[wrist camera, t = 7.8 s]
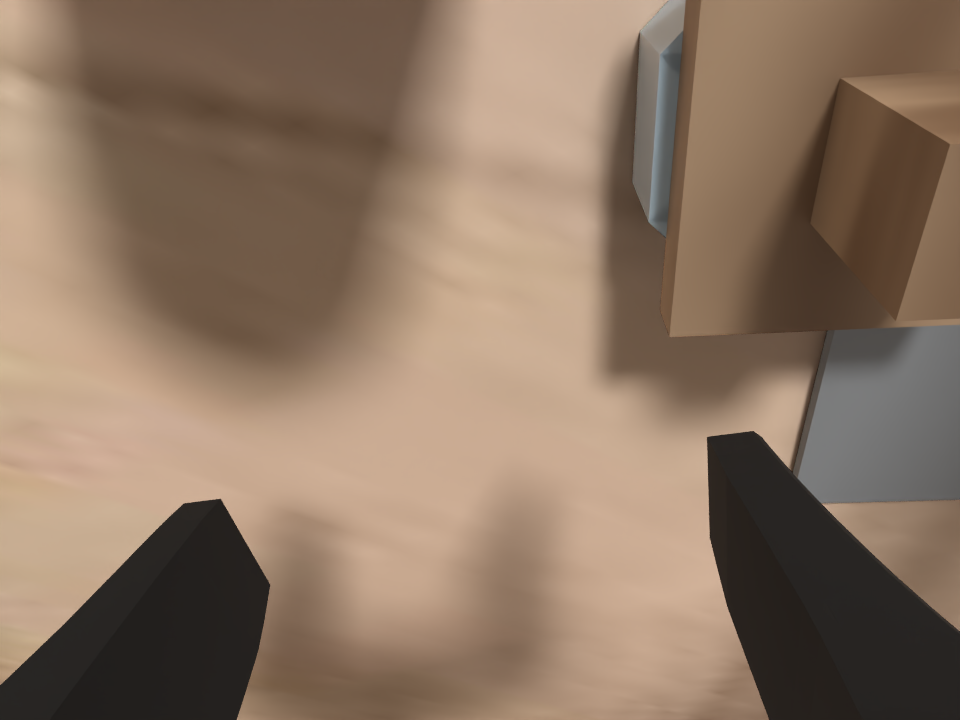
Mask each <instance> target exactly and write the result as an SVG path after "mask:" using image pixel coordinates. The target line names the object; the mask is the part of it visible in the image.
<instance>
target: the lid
mask: <svg viewBox="0 0 960 720" xmlns="http://www.w3.org/2000/svg"><path fill="white" fill-rule="evenodd" d="M660 312H661V315H662V317H663V320H664V323H665V326H666V329H667V332H668V335H669V337H686V336H709V335H733V334H756V333H779V332H802V331H826V330H849V329H872V328H895V327H919V326H942V325H960V0H686V3H685V15H684V27H683V39H682V51H681V63H680V75H679V87H678V99H677V111H676V123H675V135H674V148H673V160H672V172H671V184H670V196H669V208H668V220H667V232H666V244H665V256H664V268H663V280H662V292H661V304H660Z"/></svg>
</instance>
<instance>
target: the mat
mask: <svg viewBox="0 0 960 720" xmlns="http://www.w3.org/2000/svg"><path fill="white" fill-rule="evenodd" d="M793 474H794V475H795V476H796V477H797V478H798V479H799V480H800V482H801V483H802V484H803V485H804V486H805V487H806V488H807V489H808V490H809V491H810V492H811V493H812V494H813V495H814V496H815V497H816V499H817V500H818V501H819V502H820V503H849V502H887V501H925V500H960V325H942V326H919V327H895V328H872V329H849V330H827V334H826V338H825V342H824V347H823V351H822V355H821V359H820V363H819V367H818V371H817V375H816V379H815V383H814V388H813V392H812V396H811V400H810V404H809V408H808V412H807V416H806V420H805V424H804V428H803V433H802V437H801V441H800V445H799V449H798V453H797V457H796V461H795V465H794V469H793Z"/></svg>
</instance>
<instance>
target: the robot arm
mask: <svg viewBox="0 0 960 720" xmlns="http://www.w3.org/2000/svg"><path fill="white" fill-rule="evenodd" d="M707 450H708V486H709V522H710V540H711V544H712V548H713V552H714V556H715V560H716V564H717V568H718V572H719V576H720V580H721V584H722V588H723V592H724V595H725V599H726V603H727V607H728V610H729V612H730V615H731V618H732V621H733V623H734V626H735V629H736V631H737V634H738V637H739V640H740V642H741V645H742V648H743V650H744V653H745V656H746V659H747V661H748V664H749V667H750V669H751V672H752V675H753V677H754V680H755V683H756V685H757V688H758V691H759V693H760V696H761V699H762V701H763V704H764V707H765V709H766V712H767V715H768V717H769V720H960V631H958V630H957V629H956V628H955V627H954V626H953V625H951V624H950V623H949V622H948V621H947V620H945V619H944V618H943V617H942V616H941V615H940V614H938V613H937V612H936V611H935V610H934V609H933V608H931V607H930V606H929V605H928V604H927V603H926V602H925V601H924V600H922V599H921V598H920V597H919V596H918V595H917V594H916V593H914V592H913V591H912V590H911V589H910V588H909V587H908V586H906V585H905V584H904V583H903V582H902V581H901V580H900V579H899V578H898V577H896V576H895V575H894V574H893V573H892V572H891V571H890V570H889V569H888V568H887V567H886V566H885V565H883V564H882V563H881V562H880V561H879V560H878V559H877V558H876V557H875V556H874V555H873V554H872V553H871V552H870V551H869V550H868V549H867V548H866V547H865V546H864V545H863V544H862V543H861V542H859V541H858V540H857V539H856V538H855V537H854V536H853V535H852V534H851V533H850V532H849V531H848V530H847V529H846V528H845V527H844V526H843V525H842V524H841V523H840V522H839V521H838V520H837V519H836V518H835V517H834V516H833V515H832V514H831V513H830V512H829V511H828V510H827V509H826V508H825V507H824V506H823V505H822V504H821V503H820V502H819V501H818V500H817V499H816V497H815V496H814V495H813V494H812V493H811V492H810V491H809V490H808V489H807V488H806V487H805V486H804V485H803V484H802V483H801V482H800V480H799V479H798V478H797V477H796V476H795V475H794V474H793V473H792V472H791V471H790V469H789V468H788V467H787V466H786V465H785V464H784V463H783V462H782V460H781V459H780V458H779V457H778V456H777V455H776V454H775V452H774V451H773V450H772V449H771V448H770V447H769V445H768V444H767V443H766V442H765V441H764V439H763V438H762V437H761V436H759V435H758V434H757V433H755V432H754V431H750V432H742V433H734V434H727V435H719V436H711V437H707ZM269 589H270V584H269V582H268V580H267V579H266V577H265V575H264V573H263V572H262V570H261V568H260V566H259V565H258V563H257V561H256V559H255V558H254V556H253V554H252V552H251V551H250V549H249V547H248V546H247V544H246V542H245V540H244V539H243V537H242V535H241V533H240V532H239V530H238V528H237V526H236V525H235V523H234V521H233V519H232V518H231V516H230V514H229V513H228V511H227V509H226V507H225V506H224V504H223V502H222V500H221V499H216V500H208V501H200V502H192V503H184V504H183V505H182V506H181V507H180V508H179V509H178V510H176V511H175V512H174V513H173V514H172V515H171V516H170V517H169V518H168V519H167V520H166V521H165V522H164V523H163V524H162V525H161V526H160V527H159V528H158V529H157V530H156V531H155V532H154V533H153V534H152V535H151V536H150V537H149V538H148V539H147V540H146V541H145V542H144V543H143V544H142V545H141V546H140V547H139V548H138V549H137V550H136V551H135V552H134V553H133V554H132V555H131V556H130V557H129V558H128V559H127V560H126V561H125V562H124V564H123V565H122V566H121V567H120V568H119V569H118V570H117V571H116V572H115V573H114V574H113V575H112V576H111V577H110V578H109V579H108V580H107V581H106V582H105V583H104V584H103V585H102V586H101V587H100V588H99V589H98V590H97V591H96V592H95V593H94V594H93V595H92V596H91V597H90V598H89V599H88V600H87V601H86V602H85V603H84V604H83V605H82V606H81V608H80V609H79V610H78V611H77V612H76V613H75V614H74V615H73V616H72V617H71V618H70V619H69V620H68V621H67V622H66V623H65V624H64V625H63V626H62V627H61V628H60V629H59V630H58V631H57V632H56V633H54V634H53V635H52V636H51V637H50V638H49V639H48V640H47V641H46V642H45V643H44V644H43V645H42V646H41V647H40V648H39V649H38V650H37V651H36V652H35V653H34V654H33V655H32V656H30V657H29V658H28V659H27V660H26V661H25V662H24V663H23V664H22V665H21V666H20V667H19V668H18V669H17V670H16V671H15V672H14V673H13V674H12V675H11V676H10V677H9V678H8V679H7V680H5V681H4V682H3V683H2V684H1V685H0V720H237V717H238V714H239V711H240V708H241V704H242V701H243V698H244V695H245V692H246V689H247V685H248V682H249V679H250V676H251V673H252V669H253V666H254V663H255V660H256V656H257V653H258V649H259V644H260V639H261V634H262V629H263V624H264V619H265V613H266V607H267V601H268V595H269Z"/></svg>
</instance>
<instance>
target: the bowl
mask: <svg viewBox="0 0 960 720" xmlns="http://www.w3.org/2000/svg"><path fill="white" fill-rule="evenodd" d="M685 3H686V0H669V1H668V2H667V3H666V4H665V5H664V6H663V7H662V8H661V9H660V10H659V11H658V13H657V14H656V15H655V16H654V17H653V18H652V19H651V20H650V21H649V22H648V23H647V24H646V26H645V27H644V28H643V29H642V30H641V31H640V42H639V62H638V82H637V101H636V121H635V140H634V160H633V179H632V183H633V185H634V188H635V190H636V193H637V195H638V198H639V200H640V203H641V205H642V207H643V210H644V212H645V215H646V217H647V220H648V222H649V223H650V224H651V225H652V226H653V227H654V228H655V229H657V230H658V231H659V232H660V233H661V234H662V235H663V236H664V237H665V238H666V232H667V220H668V208H669V196H670V184H671V172H672V160H673V148H674V135H675V123H676V111H677V99H678V87H679V75H680V63H681V51H682V39H683V27H684V15H685Z"/></svg>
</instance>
